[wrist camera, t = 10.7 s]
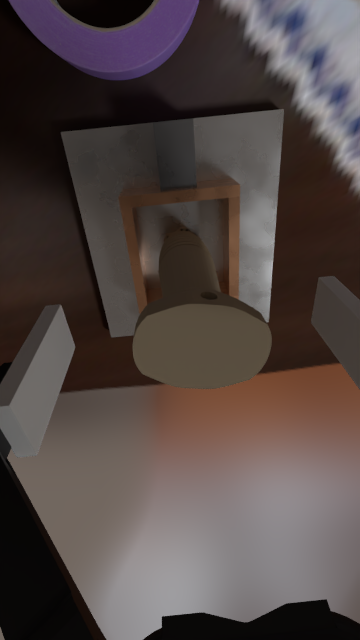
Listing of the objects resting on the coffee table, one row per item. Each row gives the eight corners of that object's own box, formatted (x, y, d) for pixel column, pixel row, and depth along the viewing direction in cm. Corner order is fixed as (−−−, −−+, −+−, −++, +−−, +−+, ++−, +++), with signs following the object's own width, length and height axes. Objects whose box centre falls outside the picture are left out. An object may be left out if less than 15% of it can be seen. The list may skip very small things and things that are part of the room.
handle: (145, 211, 26) (134, 298, 13) (223, 219, 26) (284, 310, 14) (142, 266, 28) (130, 385, 16) (213, 273, 29) (256, 391, 16)
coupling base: (64, 131, 23) (47, 133, 20) (279, 109, 23) (299, 107, 20) (112, 332, 33) (107, 356, 30) (265, 317, 33) (277, 339, 30)
